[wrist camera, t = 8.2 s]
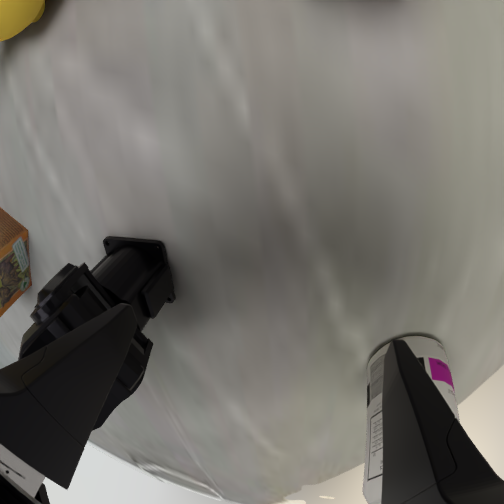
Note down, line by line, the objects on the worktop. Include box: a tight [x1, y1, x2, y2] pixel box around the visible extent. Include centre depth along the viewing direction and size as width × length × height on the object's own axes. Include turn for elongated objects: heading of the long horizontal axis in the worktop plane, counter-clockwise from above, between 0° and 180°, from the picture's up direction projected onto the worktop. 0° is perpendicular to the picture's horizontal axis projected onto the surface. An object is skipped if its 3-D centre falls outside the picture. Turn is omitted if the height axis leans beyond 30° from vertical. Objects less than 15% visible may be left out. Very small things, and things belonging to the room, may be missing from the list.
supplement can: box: [363, 336, 460, 504], centre depth 20 cm, size 8×8×15 cm
